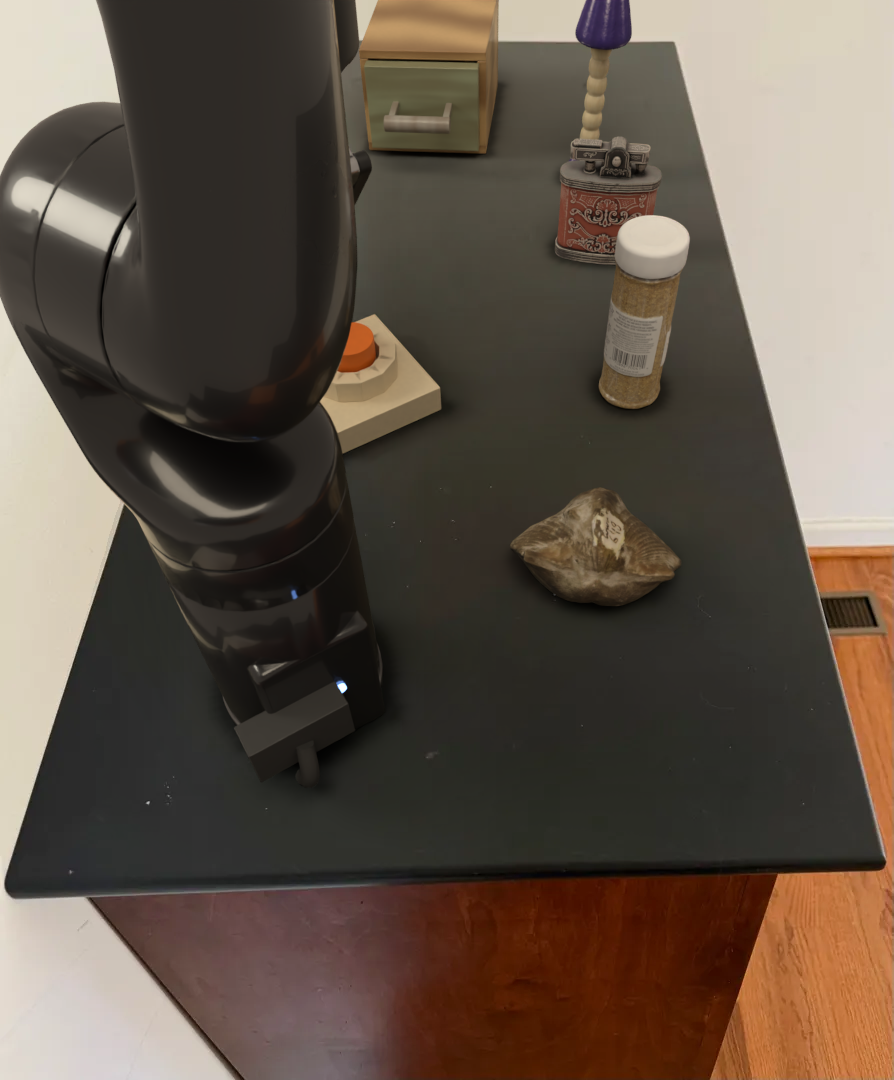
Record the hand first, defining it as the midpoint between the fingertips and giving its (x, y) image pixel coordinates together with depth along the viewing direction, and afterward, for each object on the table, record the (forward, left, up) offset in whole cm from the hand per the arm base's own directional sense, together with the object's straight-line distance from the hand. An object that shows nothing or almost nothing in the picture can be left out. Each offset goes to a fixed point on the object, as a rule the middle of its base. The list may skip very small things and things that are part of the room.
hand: (322, 256), depth 59 cm
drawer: (+28, -24, -11) cm, 39 cm away
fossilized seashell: (-23, -6, -12) cm, 27 cm away
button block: (0, -1, -12) cm, 12 cm away
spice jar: (-11, -18, -12) cm, 24 cm away
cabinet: (+32, -27, -12) cm, 43 cm away
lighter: (+4, -27, -12) cm, 30 cm away
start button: (0, -1, -8) cm, 9 cm away
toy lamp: (+14, -33, -12) cm, 37 cm away
